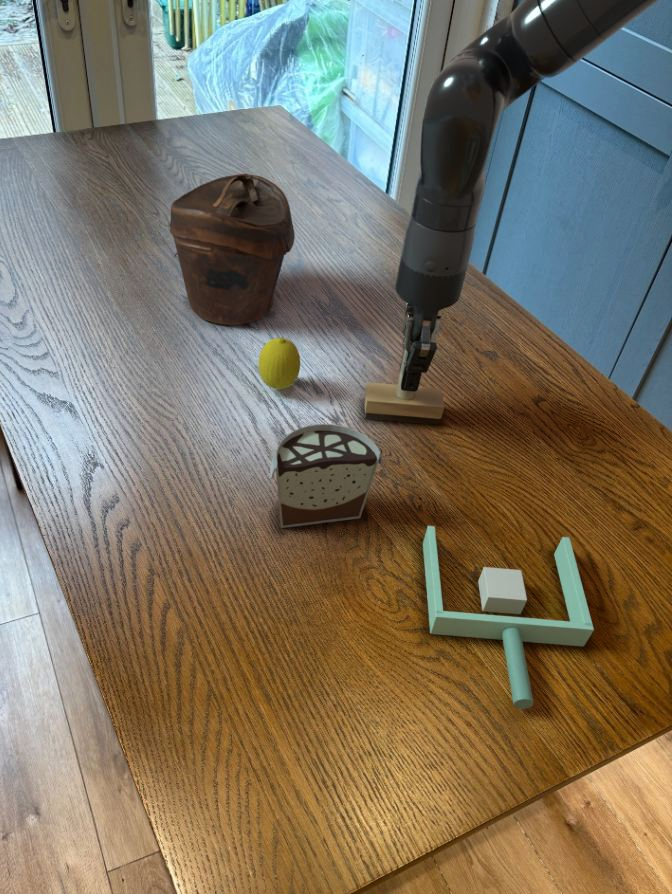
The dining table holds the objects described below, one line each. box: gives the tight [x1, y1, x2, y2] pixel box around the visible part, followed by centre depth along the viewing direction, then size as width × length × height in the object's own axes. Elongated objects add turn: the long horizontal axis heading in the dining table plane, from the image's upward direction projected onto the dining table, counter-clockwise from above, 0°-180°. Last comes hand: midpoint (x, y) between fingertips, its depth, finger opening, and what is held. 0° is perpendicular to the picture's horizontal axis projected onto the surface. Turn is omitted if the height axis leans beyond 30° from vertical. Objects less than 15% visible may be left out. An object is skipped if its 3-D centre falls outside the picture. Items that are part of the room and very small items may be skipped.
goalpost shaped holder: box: [422, 525, 595, 710], centre depth 76 cm, size 20×16×3 cm
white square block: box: [477, 566, 528, 615], centre depth 79 cm, size 4×4×2 cm
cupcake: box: [269, 423, 384, 529], centre depth 84 cm, size 12×6×10 cm, turn 102°
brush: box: [364, 349, 445, 426], centre depth 96 cm, size 4×10×10 cm, turn 86°
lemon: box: [258, 337, 301, 390], centre depth 99 cm, size 6×6×8 cm
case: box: [169, 173, 296, 326], centre depth 110 cm, size 18×20×18 cm
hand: (408, 381), depth 96 cm, fingers closed
